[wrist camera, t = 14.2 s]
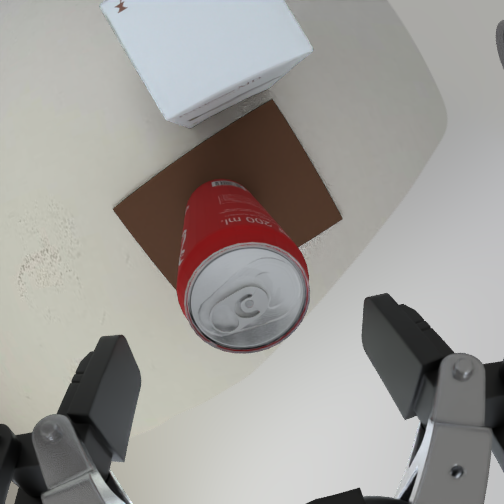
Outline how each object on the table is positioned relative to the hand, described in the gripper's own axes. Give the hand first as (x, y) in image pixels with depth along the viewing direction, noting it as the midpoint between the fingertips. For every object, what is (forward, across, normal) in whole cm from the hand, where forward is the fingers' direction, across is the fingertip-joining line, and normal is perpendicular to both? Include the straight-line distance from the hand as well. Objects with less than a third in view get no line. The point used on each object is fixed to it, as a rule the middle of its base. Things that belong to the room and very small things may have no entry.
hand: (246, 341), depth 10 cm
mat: (+18, 0, 0) cm, 18 cm away
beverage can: (+18, 0, 0) cm, 18 cm away
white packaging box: (+18, 0, -12) cm, 21 cm away
